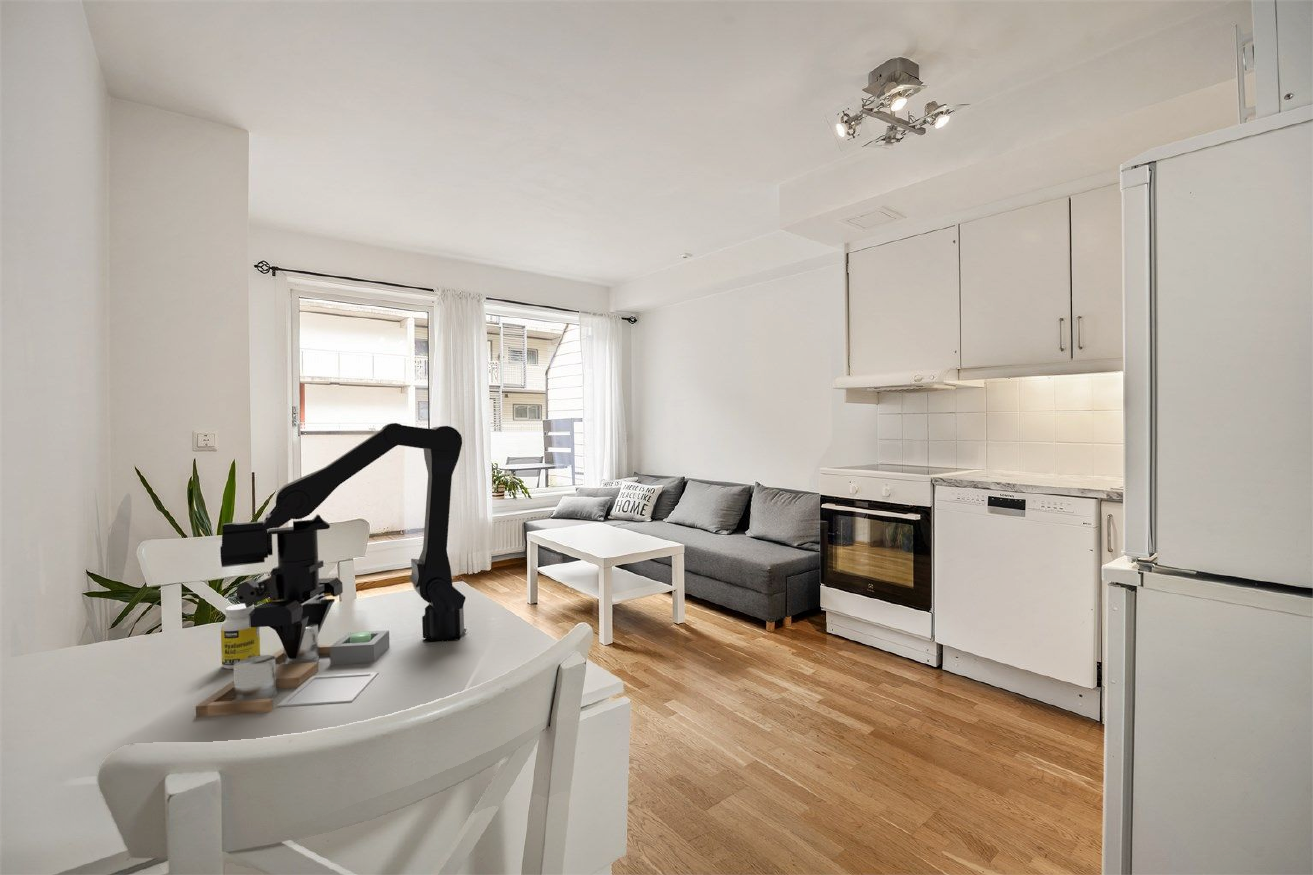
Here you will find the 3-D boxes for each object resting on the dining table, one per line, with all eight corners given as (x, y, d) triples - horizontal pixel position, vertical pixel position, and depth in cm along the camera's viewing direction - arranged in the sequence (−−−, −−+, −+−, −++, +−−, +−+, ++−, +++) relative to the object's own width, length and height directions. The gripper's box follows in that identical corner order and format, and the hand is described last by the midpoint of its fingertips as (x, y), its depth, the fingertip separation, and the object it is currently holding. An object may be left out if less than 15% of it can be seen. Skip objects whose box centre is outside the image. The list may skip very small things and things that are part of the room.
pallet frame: (340, 655, 103) (340, 644, 103) (269, 716, 82) (269, 701, 82) (283, 658, 103) (282, 647, 103) (196, 720, 81) (195, 706, 81)
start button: (374, 648, 104) (373, 631, 104) (366, 655, 100) (366, 637, 100) (355, 649, 103) (354, 632, 103) (347, 656, 100) (346, 639, 100)
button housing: (389, 650, 106) (389, 630, 106) (374, 665, 99) (373, 644, 99) (348, 652, 105) (348, 632, 105) (330, 668, 98) (329, 646, 98)
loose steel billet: (324, 656, 101) (323, 621, 101) (310, 668, 96) (308, 631, 96) (293, 658, 101) (292, 623, 101) (277, 670, 96) (276, 633, 96)
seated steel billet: (283, 694, 88) (282, 654, 88) (264, 710, 83) (263, 667, 83) (248, 696, 88) (246, 656, 88) (226, 712, 83) (225, 669, 83)
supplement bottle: (219, 672, 97) (216, 613, 97) (225, 661, 102) (223, 604, 102) (258, 665, 100) (256, 607, 100) (262, 655, 105) (260, 600, 105)
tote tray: (378, 676, 94) (378, 671, 94) (351, 706, 84) (351, 700, 84) (312, 680, 93) (312, 675, 93) (277, 710, 83) (277, 705, 83)
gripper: (278, 549, 107) (281, 635, 107) (209, 574, 88) (213, 678, 89) (342, 546, 108) (345, 631, 108) (287, 570, 89) (291, 673, 90)
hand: (301, 651), depth 99 cm, fingers open, 5 cm apart
